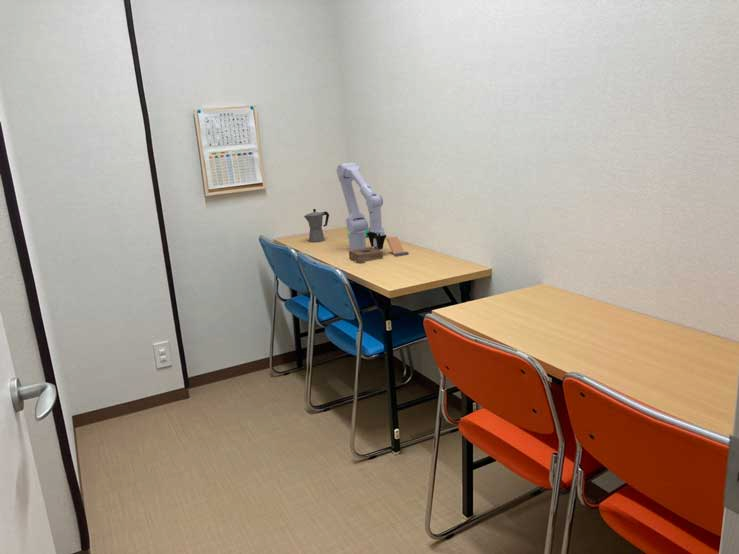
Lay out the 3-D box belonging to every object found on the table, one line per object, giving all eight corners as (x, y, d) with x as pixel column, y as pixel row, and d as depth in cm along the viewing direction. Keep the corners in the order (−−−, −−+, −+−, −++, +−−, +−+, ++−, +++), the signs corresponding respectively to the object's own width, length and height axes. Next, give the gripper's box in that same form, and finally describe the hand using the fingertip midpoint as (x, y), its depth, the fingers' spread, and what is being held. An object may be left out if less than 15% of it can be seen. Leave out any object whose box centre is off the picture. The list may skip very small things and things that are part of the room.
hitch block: (349, 258, 282) (348, 250, 281) (371, 255, 286) (371, 247, 285) (359, 263, 271) (359, 255, 270) (382, 259, 276) (382, 251, 275)
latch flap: (386, 239, 285) (387, 237, 284) (396, 237, 288) (397, 236, 287) (394, 257, 281) (395, 255, 280) (404, 255, 283) (405, 253, 282)
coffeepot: (310, 243, 321) (307, 211, 316) (302, 241, 329) (299, 209, 324) (334, 239, 329) (332, 207, 324) (326, 237, 337) (324, 206, 332)
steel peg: (372, 254, 288) (372, 238, 286) (378, 253, 290) (377, 237, 288) (375, 255, 286) (374, 239, 284) (381, 254, 287) (380, 238, 285)
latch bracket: (394, 257, 279) (394, 253, 279) (406, 255, 282) (406, 251, 282) (396, 258, 278) (396, 254, 277) (408, 255, 281) (408, 252, 280)
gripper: (389, 221, 279) (391, 249, 282) (376, 217, 291) (377, 244, 295) (376, 223, 276) (377, 251, 279) (363, 219, 288) (365, 246, 292)
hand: (376, 247), depth 287 cm, fingers open, 7 cm apart
